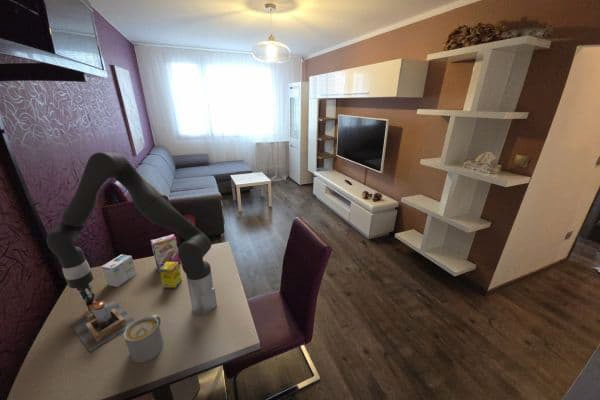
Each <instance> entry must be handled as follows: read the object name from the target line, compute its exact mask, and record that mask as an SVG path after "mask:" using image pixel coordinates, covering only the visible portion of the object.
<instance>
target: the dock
mask: <svg viewBox="0 0 600 400" xmlns="http://www.w3.org/2000/svg"><path fill="white" fill-rule="evenodd" d="M107 304H108V307H109V310H110V313H111V316H112V318H113V321H114V323H113V324H111V325H109V326H108V327H106V328H104V329H103V330H101V331H100V328H99V326H98V323H97V320H96V319H95V318H94V316H93V314H92V313H91V312H90V311H88V310H87V311H85V312H84V313H83V314H84V316H82V317H80V318H79V319H77V320H75V321H72V322H71V323H70V327H72V329H73V330H74V331H75V333H76V334H77V336H78V337H79V339H80V340H81V342H82V343H83V344H84V346H85V347H86V349H87V350H88V351H89V352H93V351H94V350H96V349H97V348H99V347H100V346H102V345H104V344H105V343H107V342H108V341H110V340H111V339H113V338H114V337H116V336H118V335H119V334H121V333H124V332H125V330H126V328H127V327H128V326H129V325H130V324H131V323H132V322H134V321H135V320H136V319H134V318H133V317H132V316H131V315H130V314H129V313H128V312H127V311H126V310H125V309H124V308H123V307H122V306H120V305H119V303H118V302H117V301H116V300H112V301H110V302H108V303H107Z"/></svg>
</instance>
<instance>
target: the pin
mask: <svg viewBox="0 0 600 400" xmlns="http://www.w3.org/2000/svg"><path fill="white" fill-rule="evenodd" d="M97 302H98V301H96V300H93V302H92V303H90V304H88V305H86V304H85V308H86V310H87V311H90V312H91V313H92V314H93V316H94V318H95V315H94V313H93V308H94V304H95V303H97ZM95 319H96V318H95Z"/></svg>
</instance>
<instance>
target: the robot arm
mask: <svg viewBox="0 0 600 400" xmlns="http://www.w3.org/2000/svg"><path fill="white" fill-rule="evenodd" d="M130 162H131V161H129V160H128V159H127V158H126V156H123V154H121V153H119V152H114V151H113V152H111V151H108V152H107V151H98V152H95V153H93V154H91V156H90V157H89V158H88V160H87V163H86V165H85V167H84V170H83V173H82V175H81V178H80V180H79V181H80V182H79V183H78V187H77V189H76V191H75V193H74V195H73V197H72V199H71V201H70V202H69V204H68V205H67V206H66V208H65V210H64V212H63V214H62V216H61V221H60V223H59V224H58V225H57V226H56V227H55V228H54V229H53V230H51V231H50V232H49V233H47V236H46V245H47V247H48V248H49V249H50V251H51V252H52V253H53V254H54V255H55V256H56V257H57V258H58V260H59V264H60V266H61V268H62V273H63V276H64V278H65V281H66V283H67V285H68V287H69V288H70V289H75V290H76V291H77V292H78V295H79V296H80V298H81V299H82V301H83V302H84V303H85V304H84V305H85V306H86V305H88V304H90V303H92V302H94V301H95V293H94V292H93V290H92V285H91V284H90V283H91V282H93V280H94V275H93V273H92V270H91V268H90V264H89V262H88V261H87V259H86V256H85V254H84V250H83V248H81V247H80V246H75V244H74V241H76V239H77V238H78V237H79V236H80V234H81V233H82V230H83V229H84V227H85V224H86V222H87V221H88V220H89V218H90V217H91V215H92V214H93V212H94V210H95V208H96V205H97V202H98V201H97V198H98V197H97V196H98V193H99V191H100V189H101V187H102V186H103V185H104V183H105V182H106V181H107V180H108V179H115V181H117V182H118V183H119V184H120V185H122V186H123V187H124V188H125V190H127V191H128V193H129V195H130V197H131V200H132V202H133V204H134V206H135V208H136V209H137V210H138V211H139V213H141V215H142V216H144V217H145V218H146V219H147V220H148V221H149V222H150V223H152V224H154V225H156V226H158V227H162V228H166V229H169V230H171V231H173V232H175V233H177V234H178V235H180V237H182V238H183V239H184V241H182V243H181V244H180V245H179V247H178V251H179V257H180V262H181V265H180V266H181V268H182V271H183V272H184V273H185V275H186V276H185V277H186V281H187V287H188V291H189V297H190V301H191V308H192V311H193V313H194V314H196V315H202V316H207V315H208V314H209V313H210V312H211V311H213V310H215V308H217V307H218V304H217V303H218V301H217V296H216V289H215V288H214V284H213V276H212V270H211V265H210V263H209V262H208V261H206V260H204V257H205V256H206V255H207V253H208V252H209V251H210V250H211V249H212V248H211V247H212V241H211V240H210V238H209V237H208V236H207V234H205V232H203V231H201V230H200V229H199V228H198V227H197V226H195V224H193V223H191V222H190V221H189V220H188V219H186V218H185V216H183V215H182V214H181V213H180V212H179V210H177V209H176V208H175V207H173V205H172V204H171V203H170V202H169V201H168V200H167V199H166V198H165V197H164V196H163V195H162V194H160V193H159V192H158V191H157V190H156V189H155V188H154V187H153V185H151V184H150V183H149V182H147V180H146V179H144V178H143V176H141V174H140V173H139V172H138V171H137V170H136V168H135V167H134V166H133V165H132V163H130Z"/></svg>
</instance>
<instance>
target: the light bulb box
mask: <svg viewBox="0 0 600 400" xmlns="http://www.w3.org/2000/svg"><path fill="white" fill-rule="evenodd" d="M101 269H102V272H103V275H104V277H105V280H106V284H107V285H108V286H113V287H117V288H119V287H120V286H121V285H123V284H125V283H126V282H127V281H128V280H130V279H131V278H133V277H134V276H136V275H137V271H136V267H135V263H134V259H133V257H132V255H127V254H119V255H118V256H117V257H115V258H113V259H112V260H110V261H108V262H106V263H105V264H103V265H101Z"/></svg>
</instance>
